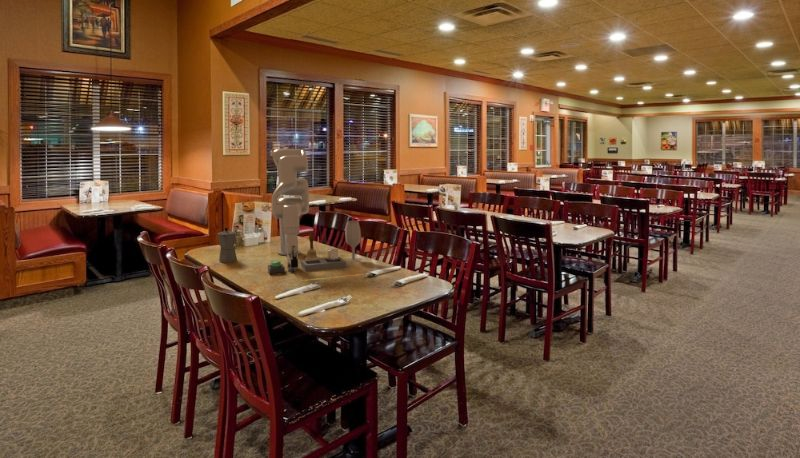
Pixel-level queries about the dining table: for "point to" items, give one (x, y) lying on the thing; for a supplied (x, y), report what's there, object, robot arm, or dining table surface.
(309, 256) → the hand bell
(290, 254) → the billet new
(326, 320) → the dining table surface
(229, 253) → the coffeepot
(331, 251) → the billet
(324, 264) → the tray
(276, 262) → the button
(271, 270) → the button housing
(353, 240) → the wineglass
